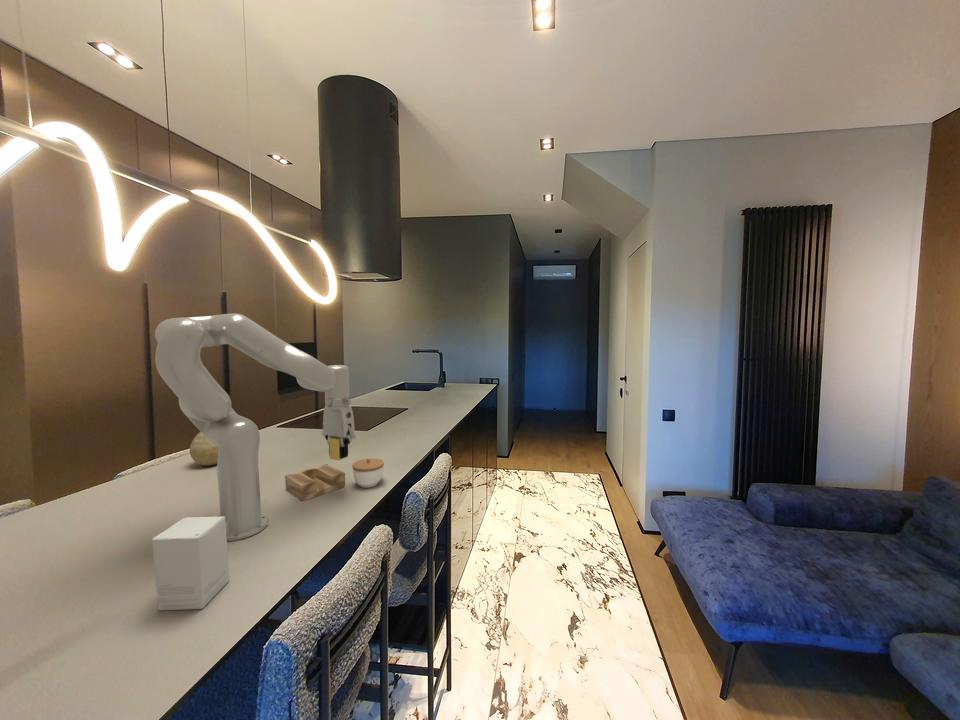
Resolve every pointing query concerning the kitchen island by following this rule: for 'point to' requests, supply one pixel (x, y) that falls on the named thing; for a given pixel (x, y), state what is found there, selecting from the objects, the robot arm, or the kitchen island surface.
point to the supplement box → (190, 562)
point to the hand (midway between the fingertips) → (338, 455)
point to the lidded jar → (368, 472)
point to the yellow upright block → (335, 448)
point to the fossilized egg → (203, 450)
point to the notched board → (314, 481)
